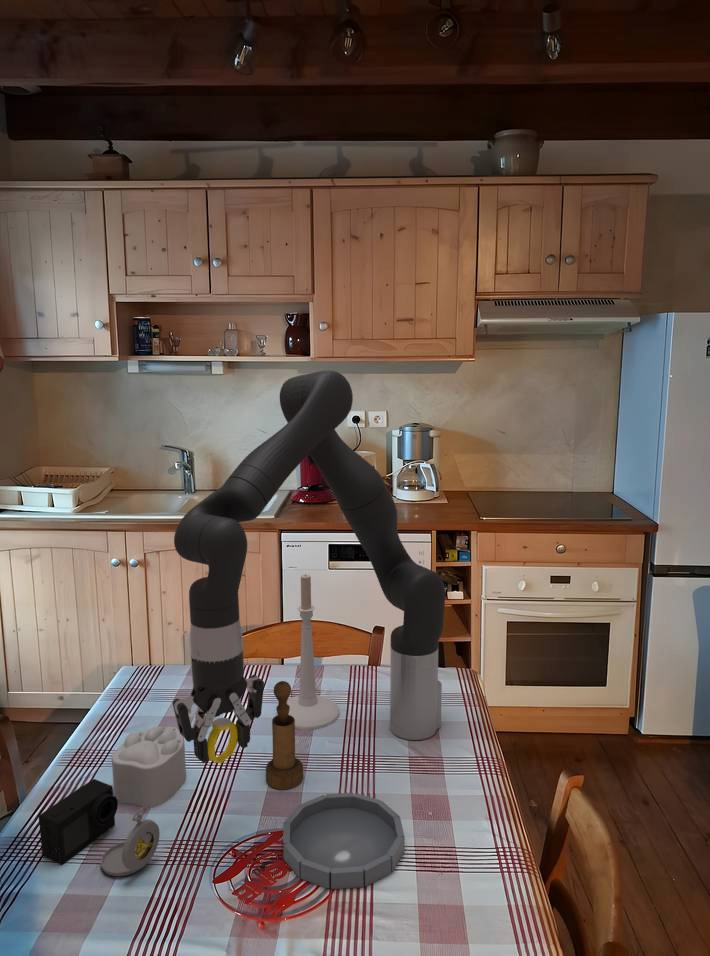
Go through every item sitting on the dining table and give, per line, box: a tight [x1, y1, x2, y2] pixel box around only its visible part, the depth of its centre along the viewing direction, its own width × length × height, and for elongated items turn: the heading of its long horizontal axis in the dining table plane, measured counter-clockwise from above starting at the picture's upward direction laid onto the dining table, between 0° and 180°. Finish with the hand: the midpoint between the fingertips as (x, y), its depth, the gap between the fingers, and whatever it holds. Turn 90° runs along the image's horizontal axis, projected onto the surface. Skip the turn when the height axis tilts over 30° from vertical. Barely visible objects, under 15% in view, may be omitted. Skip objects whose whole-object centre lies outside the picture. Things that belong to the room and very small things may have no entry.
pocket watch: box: [100, 807, 161, 877], centre depth 105 cm, size 8×8×10 cm
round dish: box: [282, 792, 405, 890], centre depth 109 cm, size 18×18×2 cm
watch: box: [207, 717, 238, 764], centre depth 109 cm, size 6×3×6 cm, turn 152°
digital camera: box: [38, 778, 119, 866], centre depth 110 cm, size 10×5×7 cm, turn 151°
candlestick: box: [276, 573, 340, 731], centre depth 146 cm, size 13×13×30 cm
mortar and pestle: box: [265, 680, 304, 790], centre depth 125 cm, size 7×6×18 cm
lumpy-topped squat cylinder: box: [111, 725, 187, 809], centre depth 125 cm, size 10×13×9 cm
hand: (223, 752), depth 109 cm, fingers closed on watch, 6 cm apart
